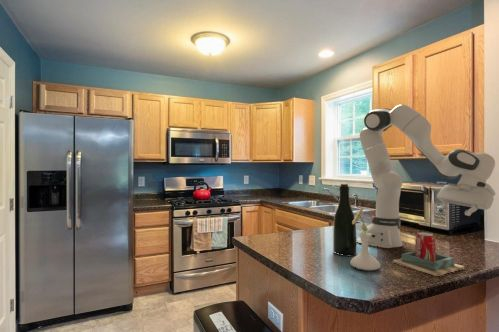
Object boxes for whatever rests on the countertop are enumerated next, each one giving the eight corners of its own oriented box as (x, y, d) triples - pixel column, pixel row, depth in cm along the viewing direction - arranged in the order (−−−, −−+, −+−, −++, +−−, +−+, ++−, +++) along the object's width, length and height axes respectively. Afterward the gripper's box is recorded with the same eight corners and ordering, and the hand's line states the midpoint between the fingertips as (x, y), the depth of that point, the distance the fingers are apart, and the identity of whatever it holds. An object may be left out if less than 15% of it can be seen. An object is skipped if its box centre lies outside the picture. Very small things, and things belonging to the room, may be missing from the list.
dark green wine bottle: (334, 249, 142) (333, 183, 143) (356, 251, 139) (356, 183, 139) (332, 255, 133) (331, 184, 133) (356, 257, 129) (355, 184, 129)
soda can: (411, 260, 121) (411, 232, 121) (427, 259, 121) (427, 231, 122) (423, 266, 114) (423, 235, 114) (440, 265, 114) (439, 235, 115)
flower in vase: (355, 261, 124) (355, 203, 124) (384, 267, 116) (383, 205, 117) (344, 269, 114) (343, 207, 114) (374, 276, 106) (373, 209, 107)
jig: (436, 277, 105) (436, 265, 105) (393, 263, 121) (392, 253, 121) (464, 269, 113) (463, 258, 113) (419, 256, 130) (419, 247, 130)
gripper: (442, 179, 133) (428, 203, 130) (493, 185, 114) (477, 213, 111) (449, 187, 135) (435, 211, 133) (500, 194, 116) (484, 222, 113)
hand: (455, 212), depth 122 cm, fingers open, 8 cm apart
